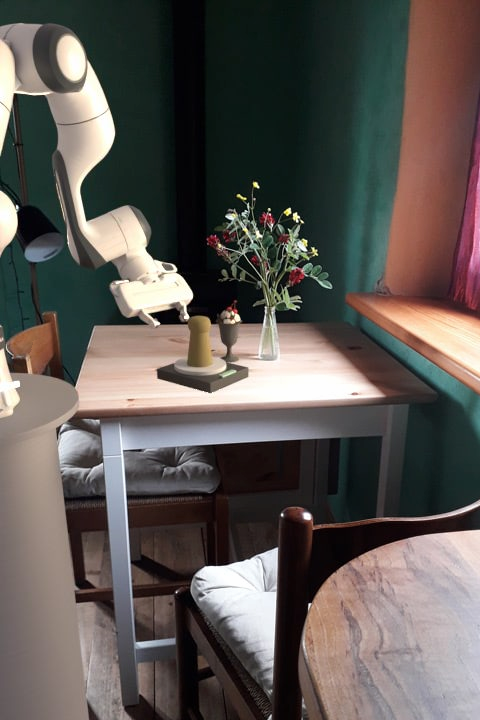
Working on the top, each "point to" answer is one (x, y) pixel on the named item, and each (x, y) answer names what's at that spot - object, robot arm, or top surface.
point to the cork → (199, 342)
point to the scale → (203, 374)
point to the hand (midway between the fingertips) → (171, 323)
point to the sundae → (229, 331)
